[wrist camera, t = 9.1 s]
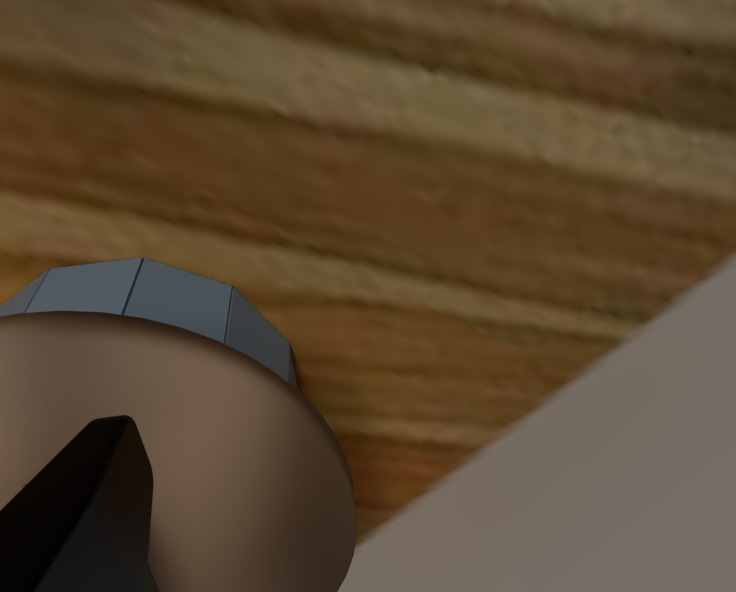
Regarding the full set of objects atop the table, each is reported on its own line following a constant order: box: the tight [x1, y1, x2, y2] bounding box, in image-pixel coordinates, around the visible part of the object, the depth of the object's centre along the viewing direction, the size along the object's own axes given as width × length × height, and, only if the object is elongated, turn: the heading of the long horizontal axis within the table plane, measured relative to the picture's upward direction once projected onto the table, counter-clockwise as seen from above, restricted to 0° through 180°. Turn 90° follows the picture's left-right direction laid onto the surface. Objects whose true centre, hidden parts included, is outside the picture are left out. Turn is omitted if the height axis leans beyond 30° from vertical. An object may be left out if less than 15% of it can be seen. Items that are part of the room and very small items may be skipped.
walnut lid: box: [0, 311, 356, 592], centre depth 17 cm, size 13×13×4 cm
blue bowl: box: [0, 258, 298, 391], centre depth 21 cm, size 10×10×5 cm
